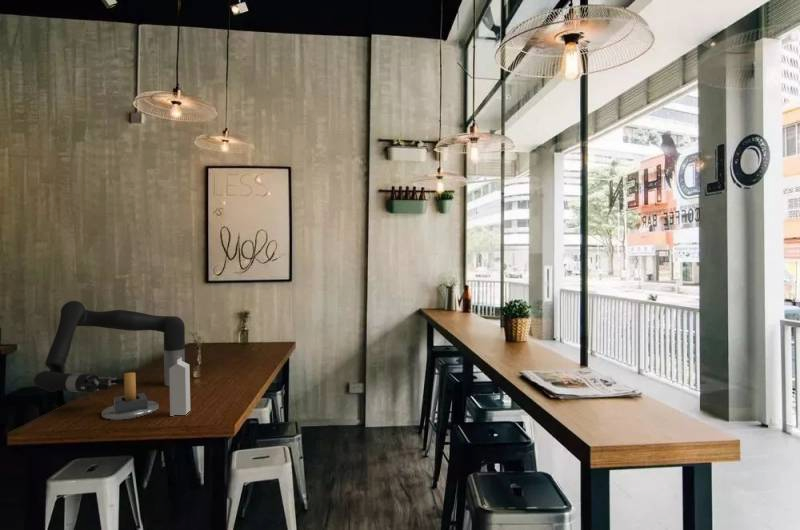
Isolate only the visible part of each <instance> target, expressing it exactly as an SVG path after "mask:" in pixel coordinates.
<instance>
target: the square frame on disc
mask: <svg viewBox="0 0 800 530" xmlns="http://www.w3.org/2000/svg"><path fill="white" fill-rule="evenodd" d="M157 409H158V410H159V403H158V402H157V401H153V400H148V397H147V395H146V394H145V392H141V393H136V399H134V400H128V401H125V395H122V396H114V397H113V405H111V406H109V407H106V408H104V409H103V410H102V411H101V418H102V417H103V418H105V419H104V420H107V419H110V420H109V421H122V420H123V419H126V420H131V419H132V418H133V419H137V418H136V417H138V418H141V417H140V416H142V417H145V416H144V415H146V416H148V415H147V414H149V415H151V414H153V413H152V412H154V411H155V412H157V411H158V410H157ZM156 410H157V411H156ZM155 412H154V413H155ZM150 413H151V414H150ZM103 418H102V419H103ZM123 421H124V420H123Z"/></svg>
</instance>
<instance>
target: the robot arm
mask: <svg viewBox="0 0 800 530" xmlns="http://www.w3.org/2000/svg"><path fill="white" fill-rule="evenodd" d="M59 318H60V319H59V323H58V326H57V331H56V333H55V336H54V339H53V340H52V344H51V346H50V348H49V351H48V353H47V357H46V359H45V362H44V363H45V367H46V368H47V369H48V370H44V371H43V370H42V371H40V372H38V373H37V374H36V375H35V376H34V378H33V384H34V386H35V387H37V388H39V389H41V390H43V391H46V392H51V393H53V392H57V391H58V390H60V391H64V392H75V393H93V392H94V391H99V390H102V391H103V390H104V391H105V390H106V391H108V390H109V387H110V386H112V385H124V378H120V376H118V375H117V376H115V375H114V376H109V375H107V376H106V377H101V376H100V377H98V375H96V374H95V373H84V372H83V373H81V372H80V373H79V372H77V373H66V372H65V371H66V370H65V369H66V368H65V367H66V365H65V364H66V362H67V360H68V357H69V355H70V354H69V353H70V351H71V346H72V342H73V337H74V334H75V330H76V329H77V327H95V328H105V329H111V330H112V329H113V330H120V331H129V332H131V331H132V332H135V331H136V332H138V331H140V332H141V331H142V332H143V331H153V332H160V333H163V367H164V368H163V370H164V376H163V377H164V381H163V382H164V386H166V387H170V380H169V368H171V367H172V366H174V365H175V364H177V360H178V359H179V358H181V357H182V361H183V362H185V363H186V361H185V360H186V355H185V352H186V351H185V348H186V347H185V346H186V344H185V343H186V342H185V341H186V335H185V333H186V330H185V328H186V327H185V323H184V321H183V319H182V318H181V317H179V316H176V315H175V316H174V315H171V316H170V315H152V314H150V313H149V314H148V313H144V312H138V311H131V310H125V309H114V310H113V309H111V310H106V311H94V310H88V309H86V307H85V306H84V304H83V303H81V301H76V300H70V301H68V302H66V303H65V304H63V305H62V307H61V309H60V317H59Z"/></svg>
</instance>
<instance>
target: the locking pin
mask: <svg viewBox="0 0 800 530" xmlns="http://www.w3.org/2000/svg"><path fill="white" fill-rule="evenodd" d="M136 376H137V375H136V372H125V373H124V374H123V379H124V384H123V385H124V396H125V401H128V400H134V399H136V394H137V387H136V386H137V384H136V383H137V381H136V379H137V378H136Z"/></svg>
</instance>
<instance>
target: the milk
mask: <svg viewBox="0 0 800 530" xmlns="http://www.w3.org/2000/svg"><path fill="white" fill-rule="evenodd" d="M190 371H191V369H190V364H189V363H187V362H186V361H185V362H183V361H182V357H181V358H179V359H178V360H177V364H175V365H174V366H172V367H171V368H169V380H170V386H169V416H173V417H175V416H174V415H186V414H187V413H188V412H189V411H190V412H191V380H190V377H191V376H190V375H191V374H190ZM190 412H189V413H190ZM189 413H188V414H189ZM188 414H187V415H188ZM187 415H186V416H187Z"/></svg>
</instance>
